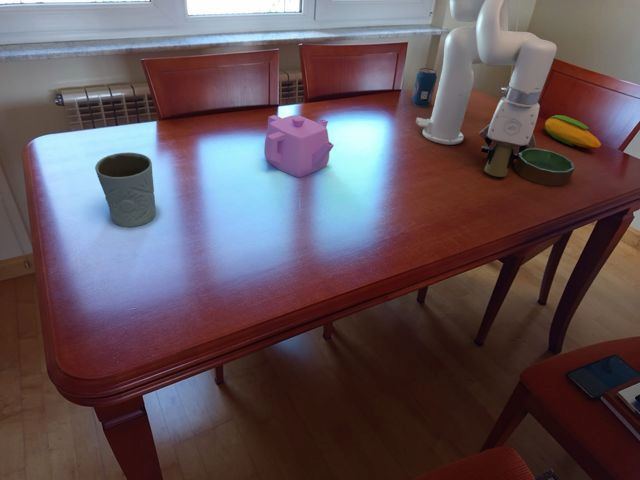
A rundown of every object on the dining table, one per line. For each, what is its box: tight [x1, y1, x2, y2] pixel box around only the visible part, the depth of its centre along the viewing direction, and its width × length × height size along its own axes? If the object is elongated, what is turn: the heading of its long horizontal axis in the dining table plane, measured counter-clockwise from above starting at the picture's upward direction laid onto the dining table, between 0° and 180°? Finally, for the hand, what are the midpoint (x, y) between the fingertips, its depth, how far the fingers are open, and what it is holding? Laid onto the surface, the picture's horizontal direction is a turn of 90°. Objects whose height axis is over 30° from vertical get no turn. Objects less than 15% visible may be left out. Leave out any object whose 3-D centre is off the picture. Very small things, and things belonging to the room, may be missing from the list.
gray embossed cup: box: [94, 152, 157, 228], centre depth 87 cm, size 10×10×12 cm
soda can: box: [411, 67, 438, 108], centre depth 156 cm, size 7×7×12 cm
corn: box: [544, 114, 602, 150], centre depth 137 cm, size 7×8×20 cm
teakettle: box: [264, 114, 335, 178], centre depth 111 cm, size 17×17×12 cm
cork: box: [483, 141, 515, 178], centre depth 114 cm, size 6×6×11 cm
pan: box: [480, 144, 575, 187], centre depth 121 cm, size 24×14×4 cm, turn 69°
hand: (498, 163), depth 116 cm, fingers closed on cork, 4 cm apart
